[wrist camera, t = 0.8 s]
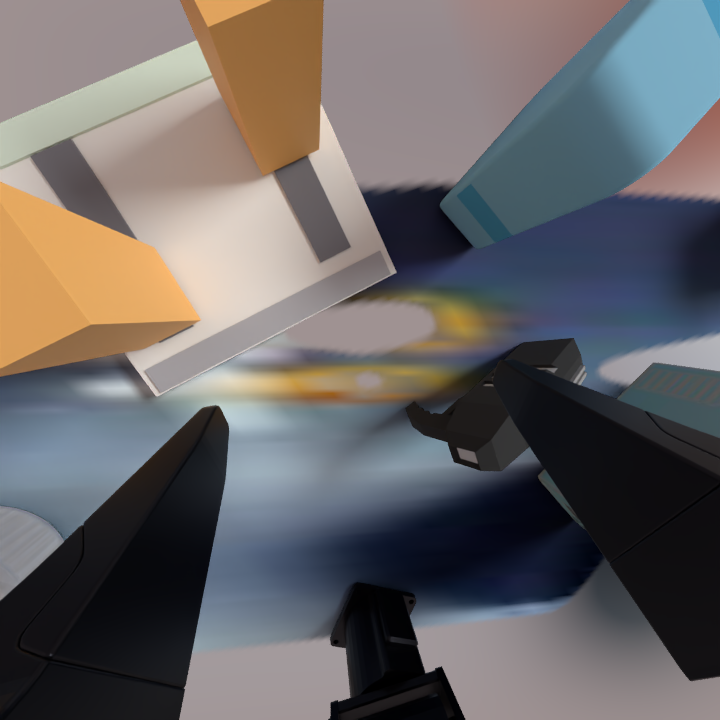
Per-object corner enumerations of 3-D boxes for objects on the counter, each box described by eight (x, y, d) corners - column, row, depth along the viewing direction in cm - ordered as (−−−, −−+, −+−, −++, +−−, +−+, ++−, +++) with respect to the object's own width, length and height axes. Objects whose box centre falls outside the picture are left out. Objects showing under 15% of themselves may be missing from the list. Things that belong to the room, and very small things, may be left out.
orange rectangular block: (201, 320, 18) (90, 324, 9) (144, 348, 17) (-28, 382, 9) (154, 247, 17) (-23, 171, 8) (93, 276, 16) (-162, 231, 8)
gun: (488, 362, 30) (607, 358, 22) (389, 449, 21) (523, 496, 13) (481, 338, 29) (601, 325, 21) (376, 418, 21) (509, 448, 13)
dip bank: (392, 275, 21) (397, 272, 20) (165, 392, 20) (155, 397, 18) (280, 27, 17) (277, 3, 16) (-8, 151, 16) (-38, 136, 15)
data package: (468, 254, 22) (645, 184, 10) (431, 212, 21) (580, 79, 9) (568, 143, 22) (863, -58, 10) (535, 94, 21) (822, -194, 9)
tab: (319, 149, 17) (323, -22, 9) (263, 176, 17) (207, 26, 8) (279, 63, 16) (237, -235, 7) (218, 89, 16) (100, -187, 7)
